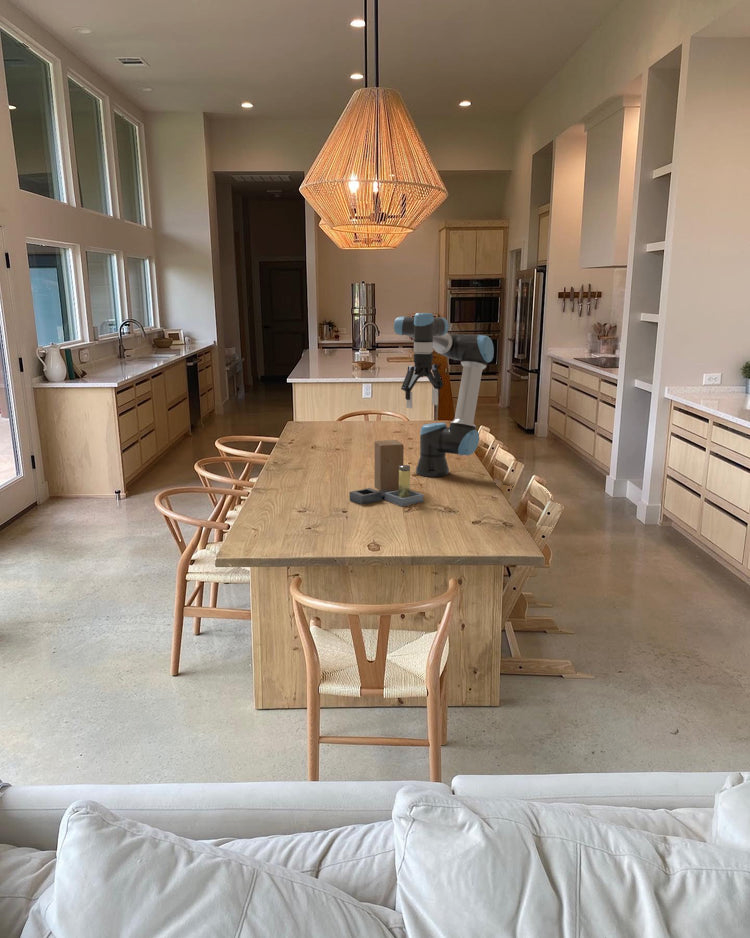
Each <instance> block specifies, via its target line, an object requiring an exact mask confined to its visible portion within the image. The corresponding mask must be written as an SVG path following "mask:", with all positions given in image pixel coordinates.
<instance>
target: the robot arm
mask: <svg viewBox="0 0 750 938" xmlns="http://www.w3.org/2000/svg"><path fill="white" fill-rule="evenodd" d="M393 323H394V324H393V330H394V333H395V334H396V335H398V336H407V337H410V338H412V339H413V352H414V353H413V364H414V365H408V367H407V371H406V375H405V378H404V379H403V383H402V385H401V387H400V390H402V391H404V392H405V394H404V395H405V401H406V404H405V405H406V408H408V409H413V391H412V390H413V388H414V387H415V385H416V383H417V381H419V379H421V378H424V377H425V378H427V379H428V380H429V382H430V383H431V385H432V387H433V388H431V391H432V392H431V393H432V395H431V405H433V406H439V397H440V390H441V389H442V387H444V382H443V380H442V378H441V377H442V376H441V374H440V372H439V365H438V364H435V363H433V362H434V360H433V356H434V355H433V352H434V351H435V352H436V353H437V354H439V355H441V356H444V357H446V358H449V359H451V360H456V361H460V364H461V366H462V373H461V377H460V378H461V379H460V385H459V391H458V395H457V396H458V397H457V401H456V403H457V404H456V409H455V412H454V413H455V415H454V418H453V420H452V421H450V423H449V426H447V424H446V422H432V423H426V424H423V425H422V426H421V427H420V433H419V437H420V438H419V441H420V442H419V443H420V444H419V446H420V447H419V459H418V462H417V465H416V467H415V474H417V475H419V476H421V477H428V478H430V477H431V478H435V477H436V478H439V477H446V476H448V475H449V474H450V468H449V465H448V461H447V458H446V454H451V455H459V456H471V455H472V454H474V452H476V451H477V448H478V445H479V442H480V433H479V431H478V430H477V426H476V424H475V423H474V421H475V415H476V409H477V403H478V398H479V392H480V386H481V380H482V373H483V370H485V369H486V368H487V366H488V363H490V362H492V361H493V359H494V356H495V355H494V353H495V351H494V350H495V347H494V343H493V340H492V339H491V337H489V336H488V335H483V334H482V335H481V334H457V333H455V334H452V333H448V331H449V329H450V324H449V320H447V319H446V318H445V317H442V316H435V317H434V314H433V313H432V312H416V313H415V315H414V316H398V317H396V318H395V320H394V322H393Z"/></svg>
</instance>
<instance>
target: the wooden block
mask: <svg viewBox="0 0 750 938" xmlns="http://www.w3.org/2000/svg"><path fill="white" fill-rule="evenodd" d="M404 452H405V451H404V443H402V442H400V441H399V440H397V439H388V440H375V441H374V475H373V477H374V483H373V485H374V488H376V489H377V491H380V490H385V489H387V490H390V491H397V490H399V466H400V465H404Z"/></svg>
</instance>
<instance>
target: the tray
mask: <svg viewBox="0 0 750 938" xmlns="http://www.w3.org/2000/svg"><path fill="white" fill-rule="evenodd" d="M384 501H387V502H389V503H391V504H394V505H397V506H400V507H406V506H411V505H415V504H419V503H424V494H423V493H420V492H418V491H417V492H416V491H414V490H411V489H410V497H406V498H400V497H399V490H397V491H392V492H387V493H385V499H384Z"/></svg>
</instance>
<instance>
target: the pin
mask: <svg viewBox="0 0 750 938" xmlns="http://www.w3.org/2000/svg"><path fill="white" fill-rule="evenodd" d="M410 485H411V466H410V465H409V464H403V465H400V466H399V497H400V498H406V497H410V490H411V488H410Z"/></svg>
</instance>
